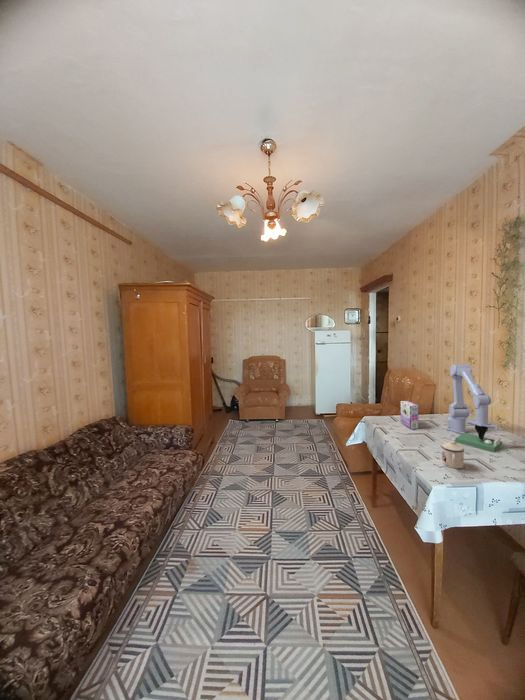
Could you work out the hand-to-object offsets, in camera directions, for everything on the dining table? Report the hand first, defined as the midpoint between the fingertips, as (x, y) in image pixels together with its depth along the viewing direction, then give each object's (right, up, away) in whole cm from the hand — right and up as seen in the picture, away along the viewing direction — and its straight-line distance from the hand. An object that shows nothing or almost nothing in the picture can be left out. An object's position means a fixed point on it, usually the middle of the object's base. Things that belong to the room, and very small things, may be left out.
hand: (481, 438), depth 156 cm
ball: (+2, -2, -2) cm, 3 cm away
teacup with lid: (-32, -6, -23) cm, 40 cm away
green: (-1, -3, +1) cm, 4 cm away
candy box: (-23, -3, +35) cm, 42 cm away
